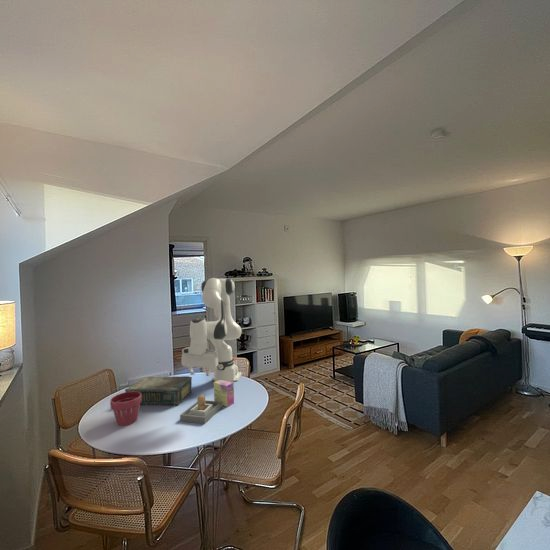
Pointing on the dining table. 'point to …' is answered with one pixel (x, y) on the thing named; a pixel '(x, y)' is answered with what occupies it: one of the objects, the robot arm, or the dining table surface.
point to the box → (224, 392)
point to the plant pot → (126, 407)
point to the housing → (201, 412)
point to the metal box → (162, 390)
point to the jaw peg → (201, 402)
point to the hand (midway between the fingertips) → (200, 375)
